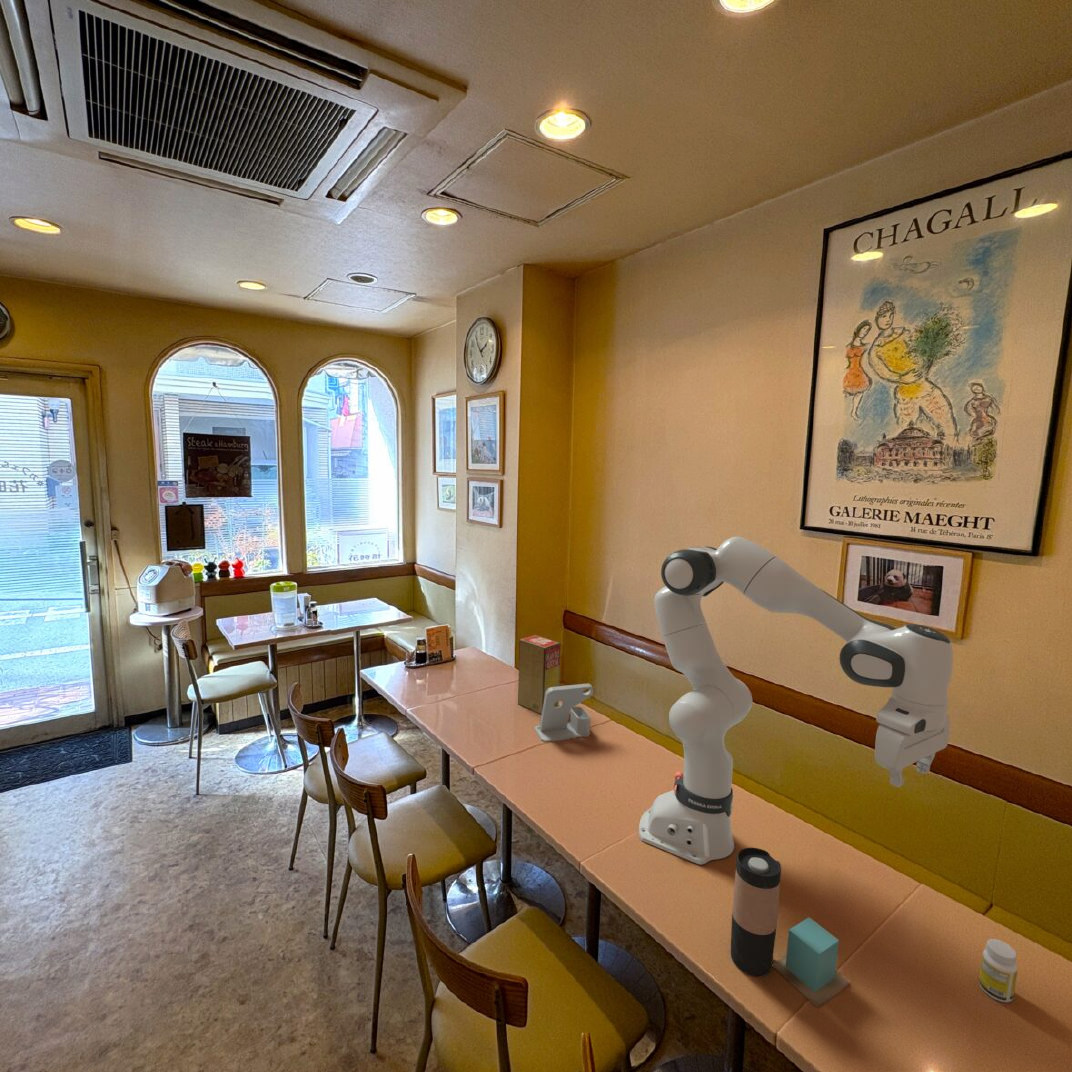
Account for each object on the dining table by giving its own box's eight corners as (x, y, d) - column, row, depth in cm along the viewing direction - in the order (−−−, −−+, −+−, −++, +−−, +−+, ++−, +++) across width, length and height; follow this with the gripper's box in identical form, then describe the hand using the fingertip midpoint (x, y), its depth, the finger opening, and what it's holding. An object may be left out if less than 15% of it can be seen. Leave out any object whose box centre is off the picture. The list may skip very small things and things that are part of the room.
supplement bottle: (997, 978, 102) (1003, 936, 101) (1020, 1003, 97) (1027, 959, 96) (971, 978, 102) (977, 936, 101) (993, 1003, 97) (1000, 960, 96)
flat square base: (772, 966, 103) (775, 934, 103) (803, 945, 108) (806, 915, 107) (818, 1007, 96) (821, 973, 95) (849, 983, 100) (852, 951, 99)
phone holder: (581, 722, 198) (583, 673, 195) (592, 736, 188) (594, 684, 186) (533, 728, 193) (535, 677, 190) (542, 742, 183) (544, 689, 180)
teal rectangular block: (785, 966, 103) (788, 929, 102) (805, 953, 106) (808, 917, 105) (815, 992, 98) (818, 954, 97) (835, 978, 101) (839, 940, 100)
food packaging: (560, 707, 209) (561, 642, 205) (542, 715, 202) (544, 648, 199) (533, 696, 218) (535, 634, 214) (516, 704, 211) (517, 639, 208)
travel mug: (728, 969, 103) (735, 869, 100) (729, 937, 110) (736, 842, 107) (773, 984, 100) (782, 881, 97) (772, 949, 107) (780, 853, 104)
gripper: (927, 694, 116) (919, 757, 118) (871, 715, 106) (863, 784, 107) (963, 706, 110) (954, 772, 112) (907, 729, 100) (898, 801, 102)
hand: (909, 778), depth 110 cm, fingers open, 8 cm apart
